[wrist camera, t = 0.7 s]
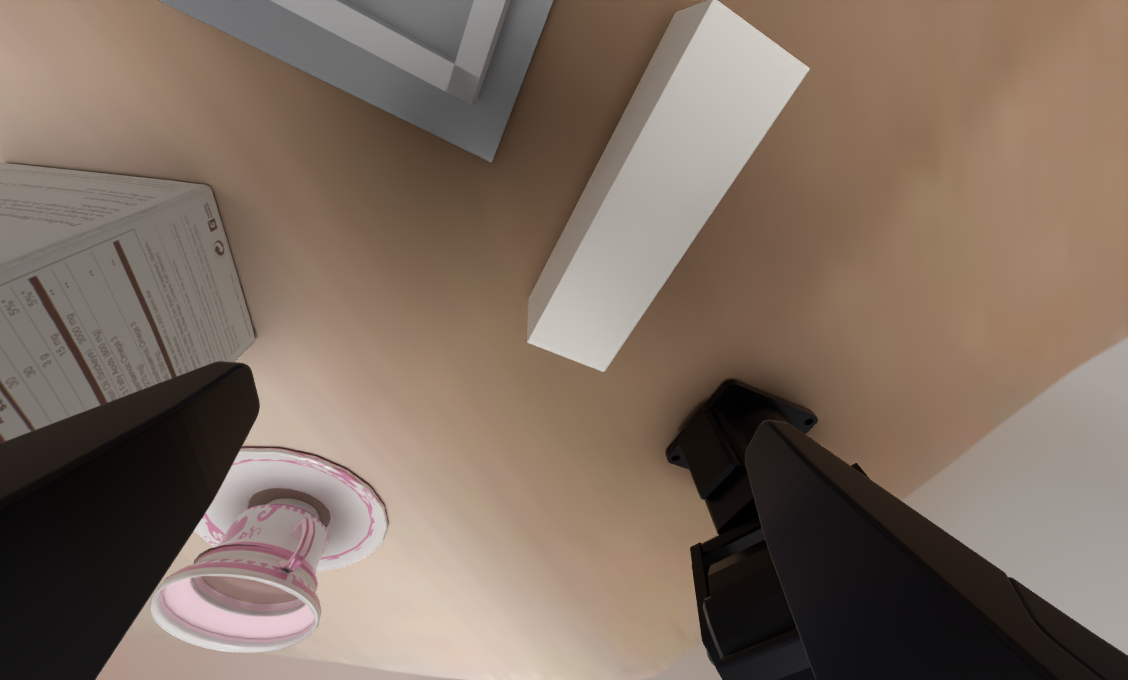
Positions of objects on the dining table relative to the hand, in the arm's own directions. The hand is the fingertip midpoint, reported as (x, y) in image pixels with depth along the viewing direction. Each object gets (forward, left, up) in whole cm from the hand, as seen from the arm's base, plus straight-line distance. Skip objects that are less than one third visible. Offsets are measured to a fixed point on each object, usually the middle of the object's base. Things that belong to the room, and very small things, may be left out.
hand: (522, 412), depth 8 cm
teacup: (+6, +24, -13) cm, 28 cm away
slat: (-3, -2, -13) cm, 13 cm away
